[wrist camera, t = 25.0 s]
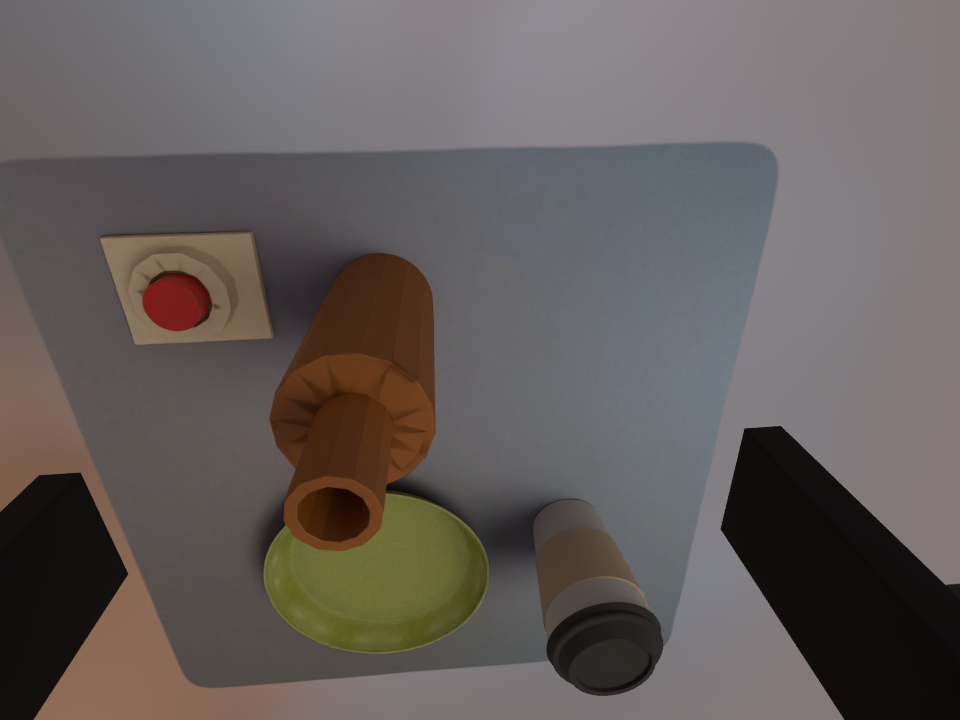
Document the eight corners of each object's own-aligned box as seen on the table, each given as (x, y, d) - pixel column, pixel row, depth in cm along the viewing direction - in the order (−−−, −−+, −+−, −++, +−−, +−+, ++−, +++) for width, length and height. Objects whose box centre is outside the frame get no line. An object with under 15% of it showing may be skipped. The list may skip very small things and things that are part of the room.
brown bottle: (372, 231, 38) (304, 390, 17) (452, 297, 40) (477, 501, 20) (311, 307, 40) (185, 530, 19) (391, 364, 42) (355, 613, 22)
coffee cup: (559, 572, 55) (601, 725, 41) (502, 527, 51) (528, 678, 38) (629, 524, 53) (697, 669, 39) (574, 474, 49) (628, 614, 36)
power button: (202, 271, 36) (192, 279, 34) (215, 320, 37) (205, 330, 36) (147, 273, 36) (134, 281, 34) (162, 323, 37) (150, 332, 36)
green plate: (493, 470, 48) (497, 493, 45) (480, 622, 57) (482, 650, 54) (259, 471, 46) (247, 496, 43) (284, 629, 55) (276, 658, 52)
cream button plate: (253, 230, 37) (241, 239, 35) (274, 335, 40) (265, 348, 38) (104, 235, 36) (82, 244, 34) (139, 341, 40) (122, 355, 38)
